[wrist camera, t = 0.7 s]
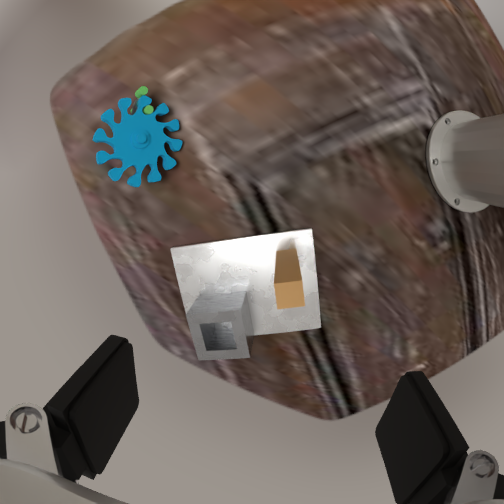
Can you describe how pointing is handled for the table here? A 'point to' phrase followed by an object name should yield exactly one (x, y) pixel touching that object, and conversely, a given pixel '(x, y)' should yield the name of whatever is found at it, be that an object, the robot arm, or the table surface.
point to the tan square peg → (288, 280)
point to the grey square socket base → (242, 291)
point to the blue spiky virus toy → (138, 138)
